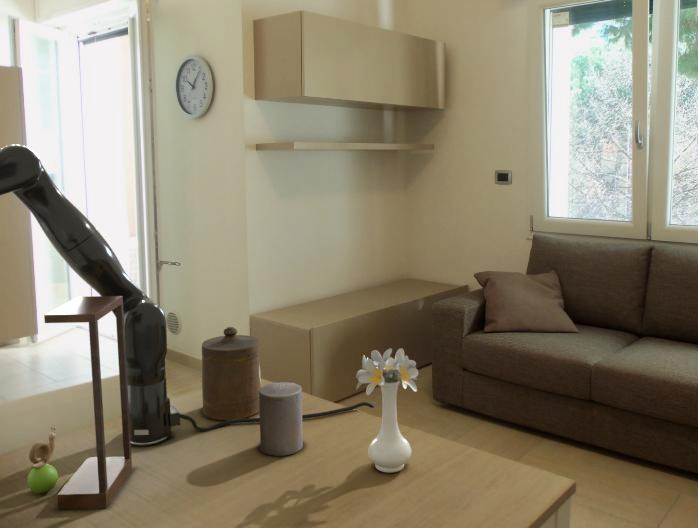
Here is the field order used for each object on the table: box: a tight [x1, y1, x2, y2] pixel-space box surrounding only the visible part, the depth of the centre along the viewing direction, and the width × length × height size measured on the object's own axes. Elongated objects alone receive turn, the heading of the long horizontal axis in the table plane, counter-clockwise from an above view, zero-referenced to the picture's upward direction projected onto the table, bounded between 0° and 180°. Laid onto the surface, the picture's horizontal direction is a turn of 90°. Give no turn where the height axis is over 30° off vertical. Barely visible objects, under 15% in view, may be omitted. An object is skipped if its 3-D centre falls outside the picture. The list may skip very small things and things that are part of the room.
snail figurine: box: [27, 426, 59, 494], centre depth 136 cm, size 5×6×12 cm
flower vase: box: [355, 348, 420, 474], centre depth 145 cm, size 13×18×25 cm
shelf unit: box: [43, 295, 133, 511], centre depth 135 cm, size 9×16×38 cm, turn 3°
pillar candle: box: [258, 381, 304, 457], centre depth 155 cm, size 10×10×15 cm
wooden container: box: [201, 326, 262, 421], centre depth 177 cm, size 15×15×22 cm
